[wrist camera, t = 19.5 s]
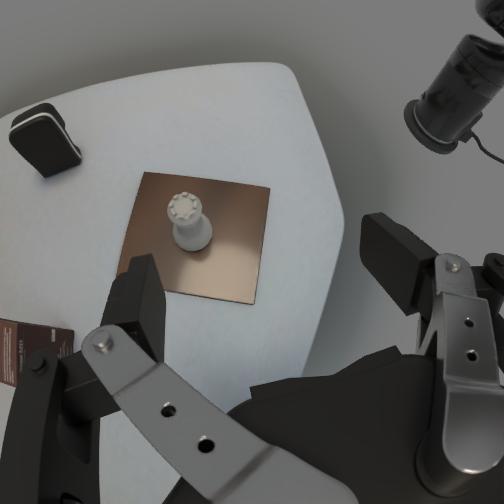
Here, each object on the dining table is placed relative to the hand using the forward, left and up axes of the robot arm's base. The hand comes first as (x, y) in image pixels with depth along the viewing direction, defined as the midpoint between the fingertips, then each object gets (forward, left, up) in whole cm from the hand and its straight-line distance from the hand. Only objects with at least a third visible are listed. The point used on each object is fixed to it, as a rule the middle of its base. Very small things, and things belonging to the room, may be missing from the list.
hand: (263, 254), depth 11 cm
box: (+21, +10, -23) cm, 32 cm away
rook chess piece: (+7, -7, -22) cm, 25 cm away
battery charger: (+29, -16, -23) cm, 40 cm away
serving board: (+7, -8, -23) cm, 25 cm away
